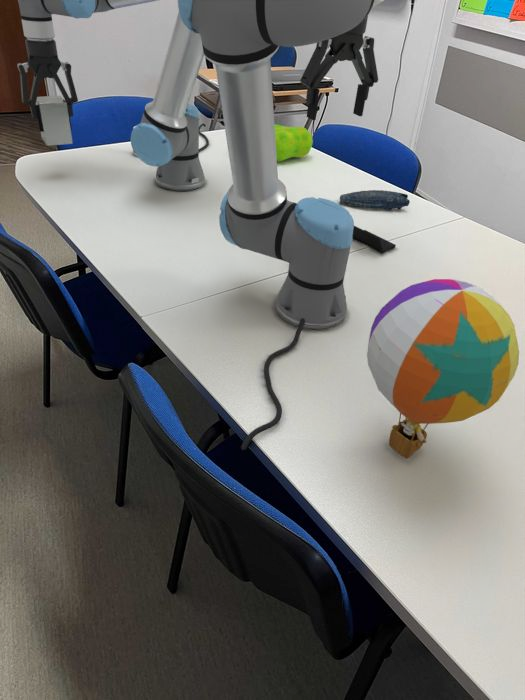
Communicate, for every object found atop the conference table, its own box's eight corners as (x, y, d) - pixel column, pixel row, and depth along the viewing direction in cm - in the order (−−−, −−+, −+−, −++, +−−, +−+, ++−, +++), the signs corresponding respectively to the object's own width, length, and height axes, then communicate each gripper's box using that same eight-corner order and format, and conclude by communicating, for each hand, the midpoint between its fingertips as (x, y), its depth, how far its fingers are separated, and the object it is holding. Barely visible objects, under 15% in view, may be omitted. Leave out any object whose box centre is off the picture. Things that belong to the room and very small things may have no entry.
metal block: (72, 143, 152) (66, 102, 145) (46, 145, 149) (39, 103, 142) (66, 136, 157) (60, 95, 150) (41, 138, 154) (34, 96, 147)
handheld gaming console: (400, 239, 139) (392, 217, 131) (388, 262, 138) (379, 241, 130) (362, 231, 145) (352, 209, 137) (350, 252, 144) (340, 232, 136)
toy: (318, 439, 84) (351, 278, 65) (393, 389, 94) (440, 239, 76) (417, 524, 73) (492, 360, 54) (489, 457, 83) (573, 301, 65)
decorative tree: (227, 120, 186) (308, 120, 191) (227, 150, 193) (305, 149, 198) (234, 135, 173) (321, 134, 178) (234, 166, 179) (317, 165, 184)
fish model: (408, 214, 157) (412, 198, 153) (339, 207, 158) (341, 191, 154) (406, 206, 162) (410, 190, 159) (339, 199, 163) (341, 183, 160)
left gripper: (75, 36, 143) (87, 123, 157) (-4, 35, 135) (15, 128, 149) (82, 41, 138) (93, 130, 153) (0, 41, 130) (20, 136, 144)
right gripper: (385, 9, 118) (366, 109, 131) (291, 6, 107) (281, 115, 121) (407, 14, 113) (385, 117, 126) (311, 12, 102) (298, 124, 116)
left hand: (55, 129), depth 151 cm, fingers closed on metal block, 7 cm apart
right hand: (334, 116), depth 123 cm, fingers open, 13 cm apart
